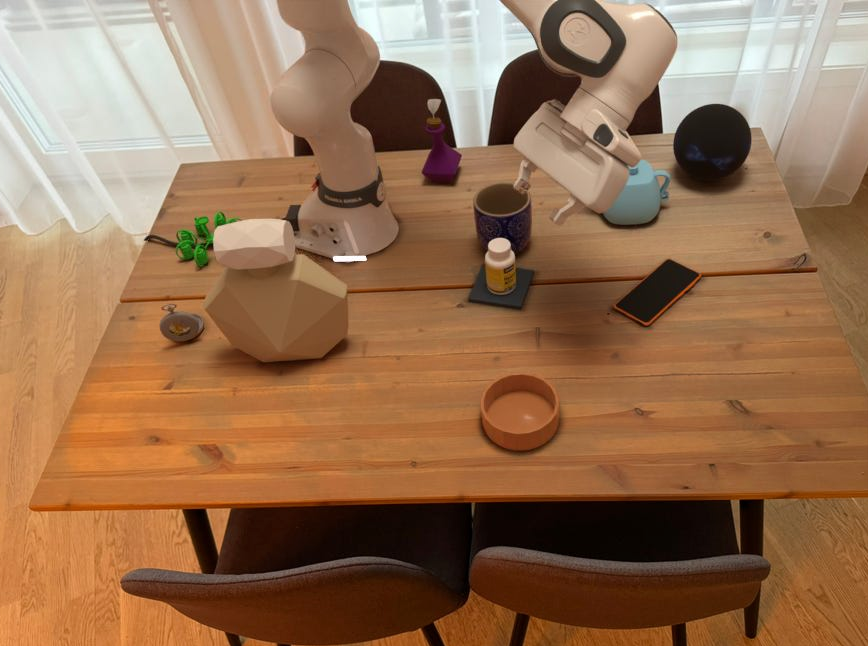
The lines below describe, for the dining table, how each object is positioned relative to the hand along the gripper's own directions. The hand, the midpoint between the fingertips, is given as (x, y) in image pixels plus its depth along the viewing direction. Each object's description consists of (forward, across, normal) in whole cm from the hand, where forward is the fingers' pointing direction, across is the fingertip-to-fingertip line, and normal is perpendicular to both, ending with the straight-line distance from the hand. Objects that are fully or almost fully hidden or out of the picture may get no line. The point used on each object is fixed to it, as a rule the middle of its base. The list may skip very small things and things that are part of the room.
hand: (536, 206), depth 110 cm
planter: (+14, -24, +25) cm, 38 cm away
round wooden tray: (+28, +14, +10) cm, 33 cm away
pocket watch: (+57, -38, -18) cm, 71 cm away
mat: (+18, -14, +20) cm, 31 cm away
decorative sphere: (-19, -18, +58) cm, 64 cm away
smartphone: (+3, +4, +36) cm, 36 cm away
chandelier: (+48, -60, -9) cm, 77 cm away
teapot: (-4, -19, +43) cm, 47 cm away
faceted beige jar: (+46, -22, -7) cm, 51 cm away
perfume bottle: (+12, -52, +27) cm, 60 cm away
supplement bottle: (+18, -14, +20) cm, 30 cm away
